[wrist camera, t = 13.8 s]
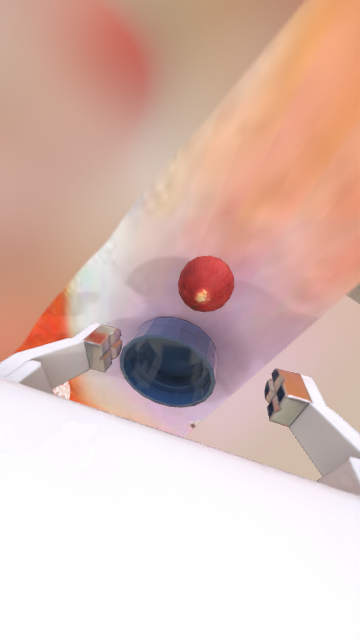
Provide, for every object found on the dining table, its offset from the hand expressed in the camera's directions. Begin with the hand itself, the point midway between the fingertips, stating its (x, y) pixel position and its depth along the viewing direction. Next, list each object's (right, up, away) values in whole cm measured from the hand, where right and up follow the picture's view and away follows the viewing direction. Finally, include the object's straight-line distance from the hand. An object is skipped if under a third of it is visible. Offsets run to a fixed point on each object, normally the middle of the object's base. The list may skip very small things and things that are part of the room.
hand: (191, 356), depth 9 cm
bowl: (-2, -4, +21) cm, 21 cm away
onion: (+3, +8, +13) cm, 15 cm away
